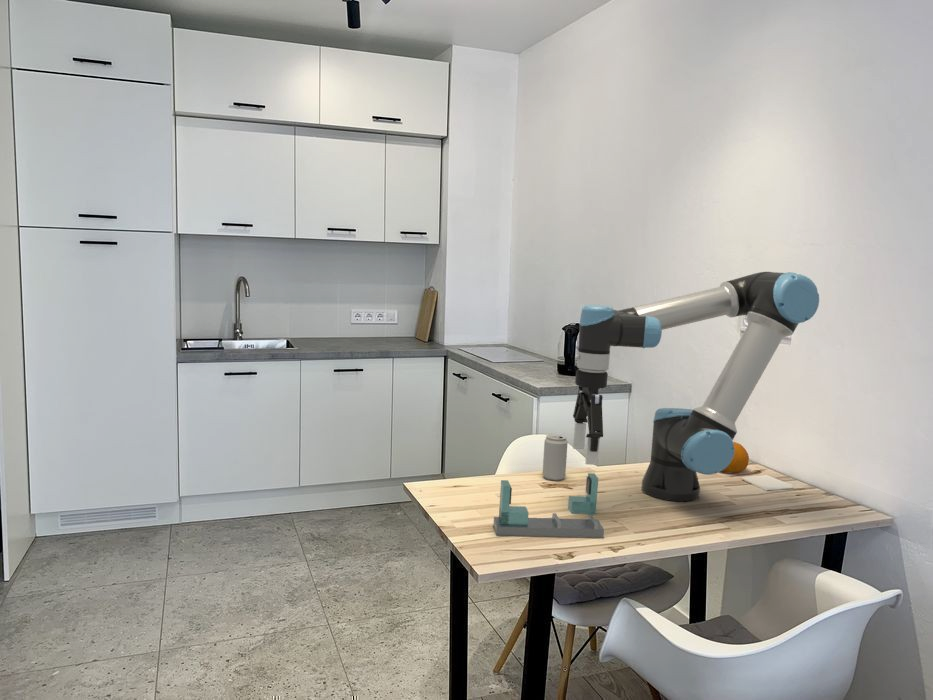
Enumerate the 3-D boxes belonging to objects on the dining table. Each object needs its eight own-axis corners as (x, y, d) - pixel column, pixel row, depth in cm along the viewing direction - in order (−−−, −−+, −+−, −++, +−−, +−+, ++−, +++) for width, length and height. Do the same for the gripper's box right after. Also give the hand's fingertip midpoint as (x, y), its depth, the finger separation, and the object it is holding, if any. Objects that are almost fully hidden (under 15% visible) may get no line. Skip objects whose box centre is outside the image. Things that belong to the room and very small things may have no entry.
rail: (596, 527, 167) (600, 481, 166) (603, 537, 162) (607, 490, 160) (493, 525, 166) (496, 478, 164) (496, 535, 160) (499, 487, 158)
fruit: (742, 478, 213) (746, 445, 212) (702, 470, 219) (705, 438, 218) (751, 469, 223) (754, 438, 221) (712, 462, 229) (715, 431, 228)
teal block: (591, 508, 180) (594, 473, 179) (595, 514, 176) (598, 478, 175) (567, 507, 180) (570, 472, 179) (571, 513, 176) (573, 477, 175)
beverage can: (564, 482, 200) (567, 440, 198) (541, 480, 201) (543, 437, 200) (565, 475, 206) (568, 434, 205) (543, 473, 208) (546, 432, 206)
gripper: (565, 361, 186) (559, 442, 188) (589, 378, 161) (581, 470, 164) (594, 362, 186) (587, 443, 189) (622, 379, 162) (613, 472, 164)
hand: (584, 456), depth 176 cm, fingers open, 13 cm apart
